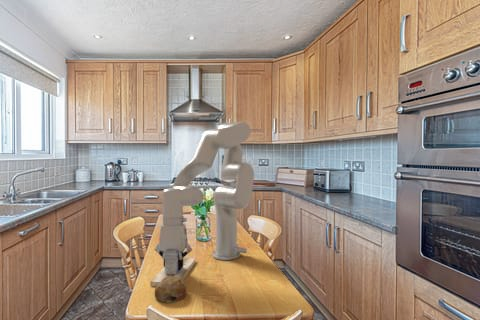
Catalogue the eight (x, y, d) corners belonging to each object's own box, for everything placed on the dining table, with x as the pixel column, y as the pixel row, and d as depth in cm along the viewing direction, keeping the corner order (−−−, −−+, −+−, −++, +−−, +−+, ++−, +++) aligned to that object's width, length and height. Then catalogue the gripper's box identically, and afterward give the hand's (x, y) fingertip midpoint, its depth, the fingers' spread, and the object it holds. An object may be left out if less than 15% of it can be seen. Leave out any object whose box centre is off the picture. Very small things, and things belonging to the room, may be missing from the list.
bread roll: (156, 314, 93) (157, 296, 89) (152, 288, 101) (153, 270, 98) (187, 308, 97) (190, 290, 93) (181, 283, 105) (183, 266, 102)
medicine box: (176, 275, 110) (176, 251, 110) (164, 274, 110) (164, 251, 110) (182, 266, 118) (182, 245, 117) (171, 266, 118) (171, 244, 118)
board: (195, 261, 127) (195, 258, 127) (178, 287, 103) (178, 282, 103) (172, 261, 128) (172, 257, 128) (150, 285, 104) (150, 281, 104)
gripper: (197, 219, 116) (197, 265, 116) (155, 218, 117) (155, 264, 118) (192, 223, 108) (192, 273, 109) (147, 223, 110) (148, 272, 110)
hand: (173, 268), depth 113 cm, fingers closed on medicine box, 4 cm apart
